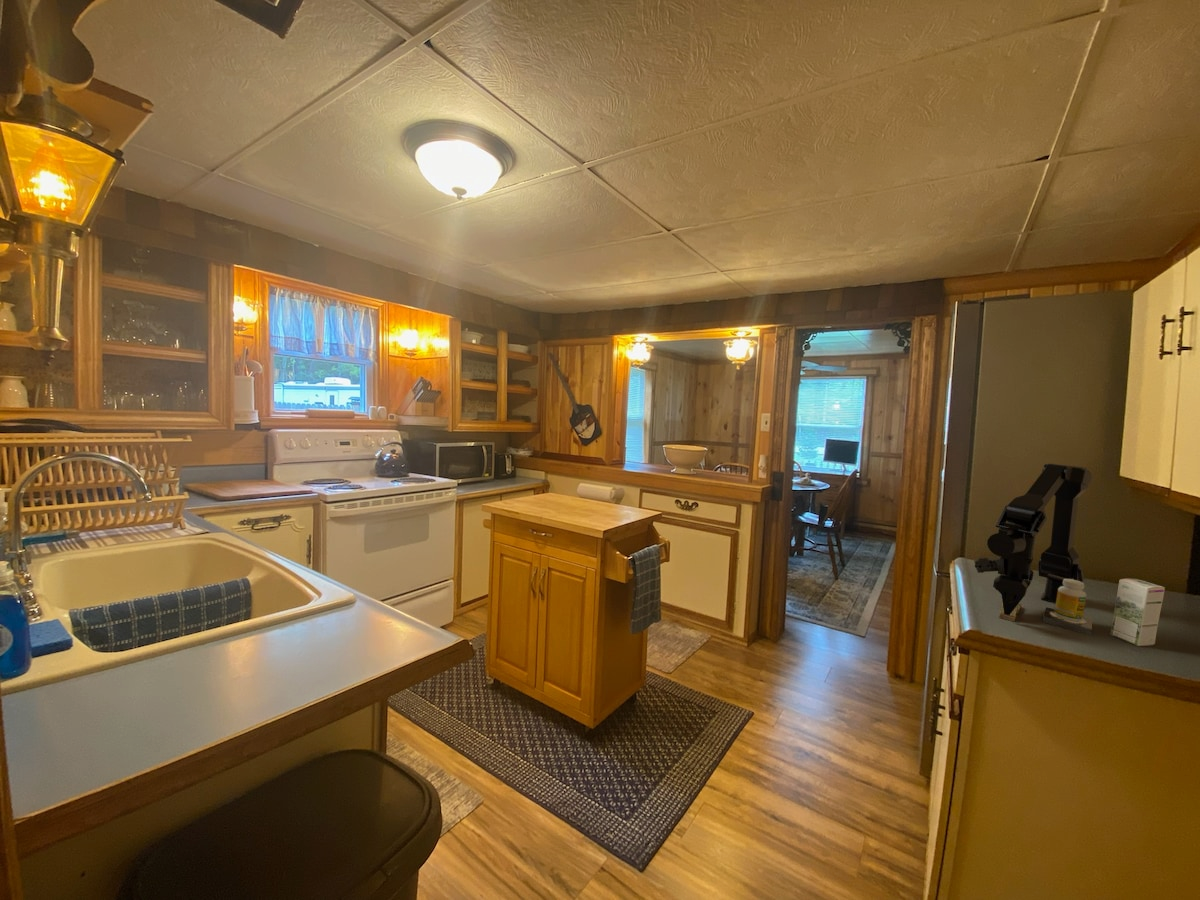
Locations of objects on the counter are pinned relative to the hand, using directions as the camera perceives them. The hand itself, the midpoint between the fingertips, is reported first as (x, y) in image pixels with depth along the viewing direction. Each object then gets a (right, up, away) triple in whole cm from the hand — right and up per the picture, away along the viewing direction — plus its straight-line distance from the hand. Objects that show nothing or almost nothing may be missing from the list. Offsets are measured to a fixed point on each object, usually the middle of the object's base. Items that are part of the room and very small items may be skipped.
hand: (1009, 609), depth 131 cm
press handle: (0, -1, 0) cm, 1 cm away
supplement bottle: (+14, -2, -1) cm, 14 cm away
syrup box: (+22, -5, -9) cm, 25 cm away
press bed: (+14, -3, -1) cm, 14 cm away
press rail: (+3, -2, +4) cm, 5 cm away
